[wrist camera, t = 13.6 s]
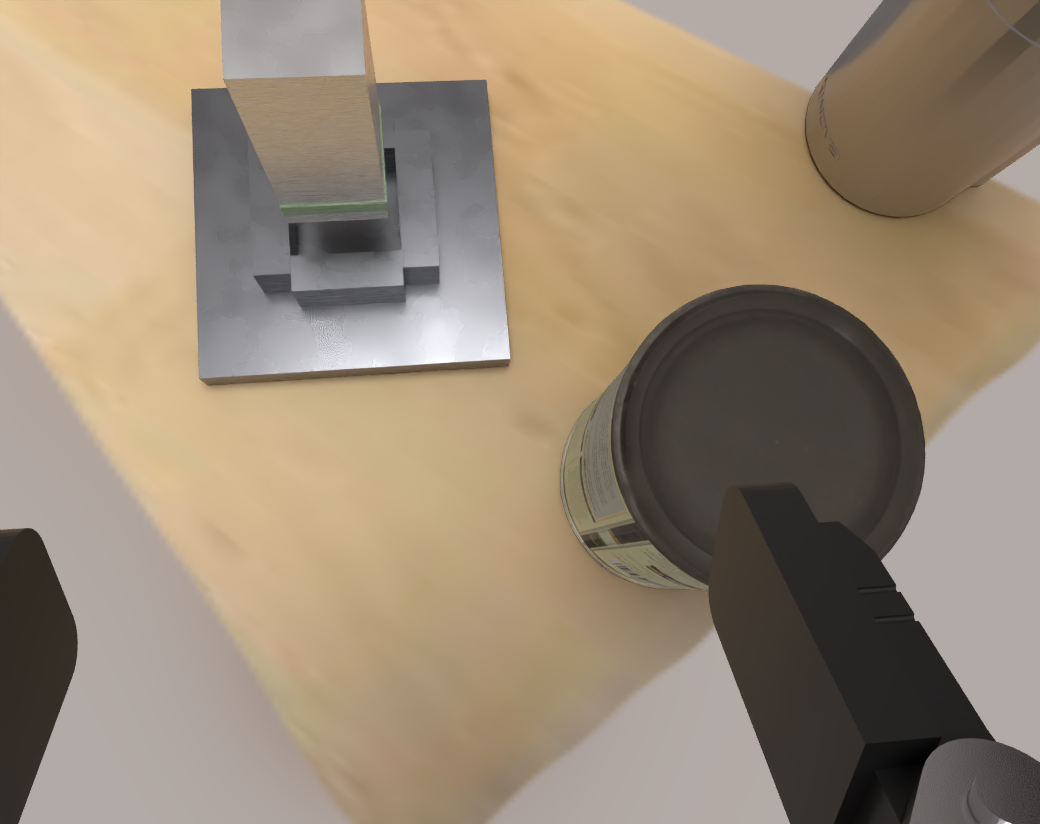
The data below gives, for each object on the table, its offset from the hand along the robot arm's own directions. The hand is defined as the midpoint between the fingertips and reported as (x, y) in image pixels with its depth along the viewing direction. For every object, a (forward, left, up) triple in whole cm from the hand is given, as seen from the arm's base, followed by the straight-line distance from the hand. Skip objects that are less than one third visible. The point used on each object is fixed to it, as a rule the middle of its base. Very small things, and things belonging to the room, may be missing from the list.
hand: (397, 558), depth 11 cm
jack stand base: (+3, -16, -30) cm, 34 cm away
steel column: (+3, -16, -24) cm, 29 cm away
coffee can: (-11, -3, -31) cm, 33 cm away
